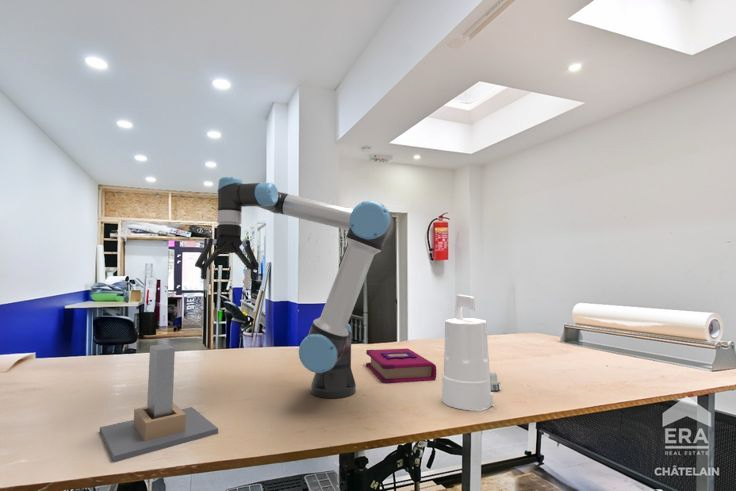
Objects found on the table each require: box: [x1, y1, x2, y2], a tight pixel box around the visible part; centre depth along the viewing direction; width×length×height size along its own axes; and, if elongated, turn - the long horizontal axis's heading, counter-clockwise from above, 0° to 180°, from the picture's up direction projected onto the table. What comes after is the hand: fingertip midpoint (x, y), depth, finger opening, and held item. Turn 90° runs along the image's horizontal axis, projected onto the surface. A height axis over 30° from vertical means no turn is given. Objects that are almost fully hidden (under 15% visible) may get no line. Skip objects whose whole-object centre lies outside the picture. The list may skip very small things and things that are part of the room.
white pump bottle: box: [441, 293, 496, 412], centre depth 122 cm, size 15×15×33 cm
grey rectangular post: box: [146, 343, 176, 419], centre depth 97 cm, size 4×7×20 cm, turn 42°
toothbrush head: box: [490, 371, 501, 391], centre depth 144 cm, size 5×7×25 cm
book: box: [365, 348, 437, 385], centre depth 156 cm, size 21×28×8 cm
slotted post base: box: [99, 402, 219, 463], centre depth 96 cm, size 22×20×5 cm
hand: (227, 289), depth 125 cm, fingers open, 13 cm apart
